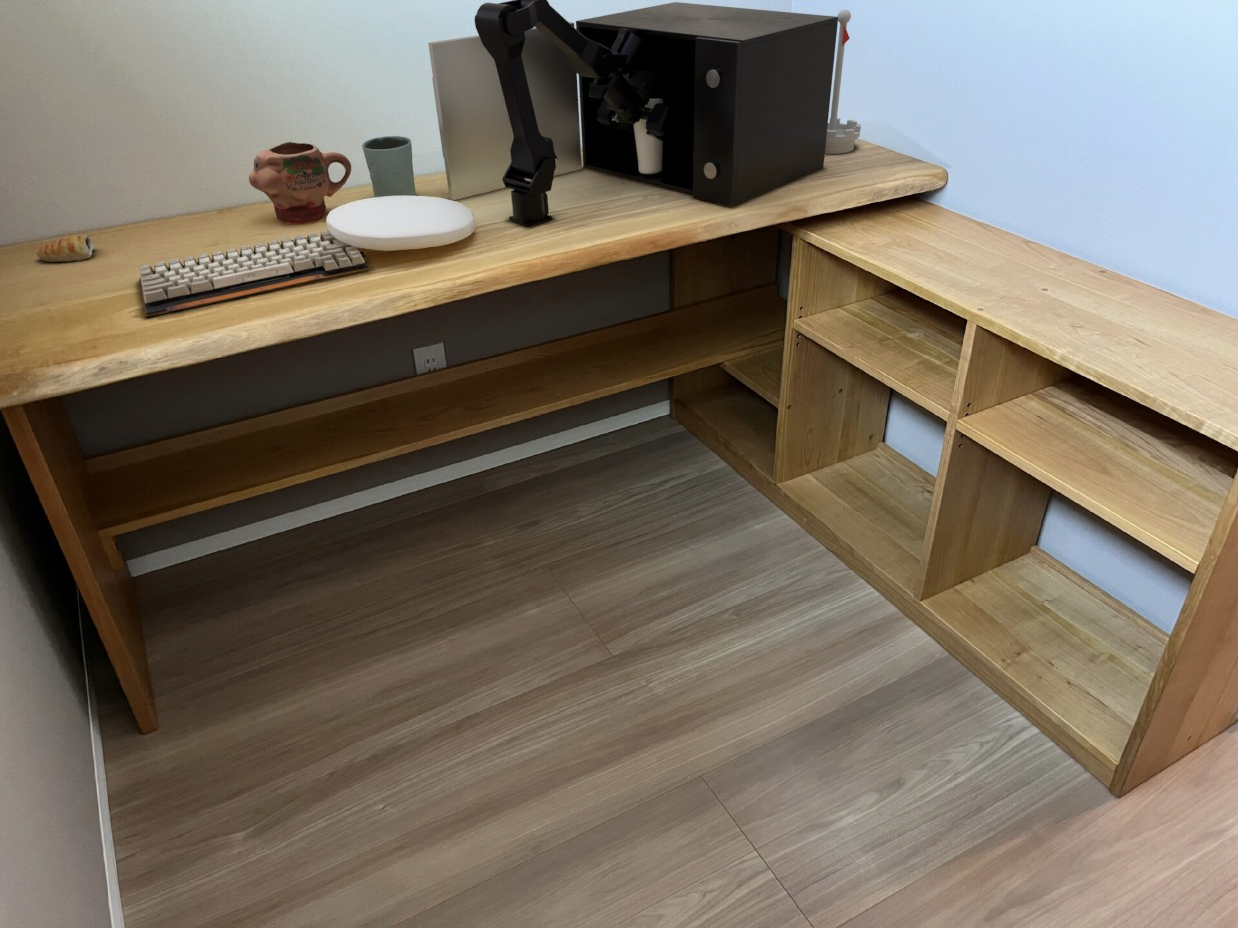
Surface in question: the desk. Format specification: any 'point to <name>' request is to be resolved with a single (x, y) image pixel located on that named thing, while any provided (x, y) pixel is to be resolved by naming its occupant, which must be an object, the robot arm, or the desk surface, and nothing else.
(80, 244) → the pastry
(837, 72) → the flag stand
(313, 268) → the mechanical keyboard
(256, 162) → the sculpted ceramic mug
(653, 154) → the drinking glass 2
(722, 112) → the microwave
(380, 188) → the green cup
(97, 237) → the desk surface
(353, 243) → the white round disc
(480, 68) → the microwave door
